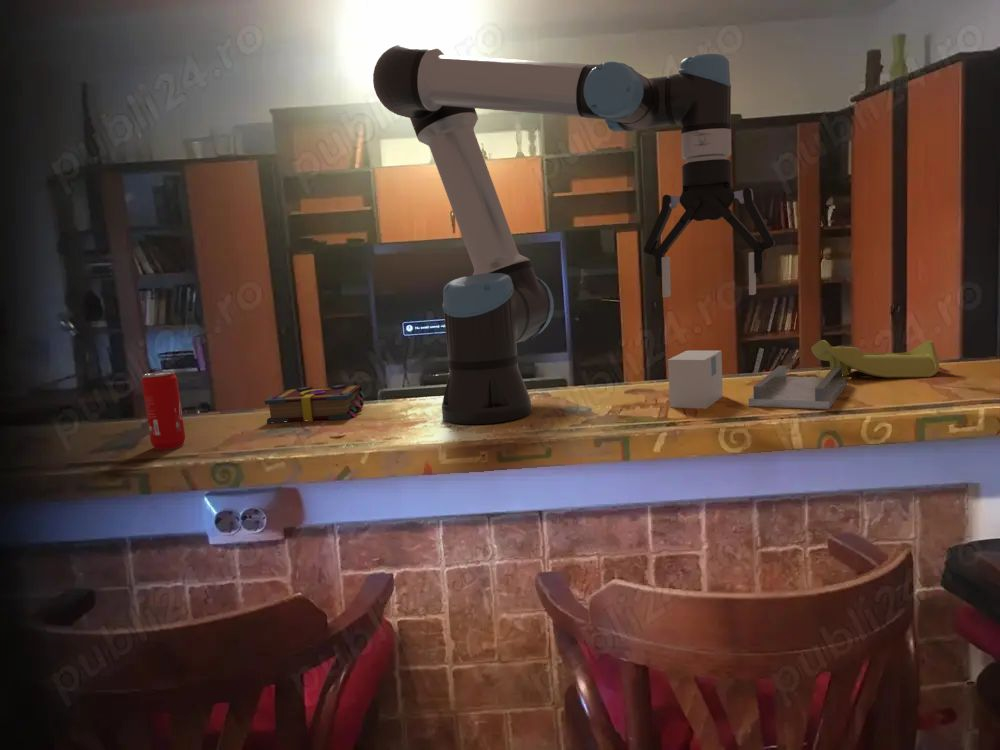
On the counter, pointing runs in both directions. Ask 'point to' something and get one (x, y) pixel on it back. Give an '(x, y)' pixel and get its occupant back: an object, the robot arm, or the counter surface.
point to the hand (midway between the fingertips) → (708, 295)
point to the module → (695, 379)
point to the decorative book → (316, 403)
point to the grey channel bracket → (798, 390)
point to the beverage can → (163, 410)
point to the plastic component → (881, 360)
